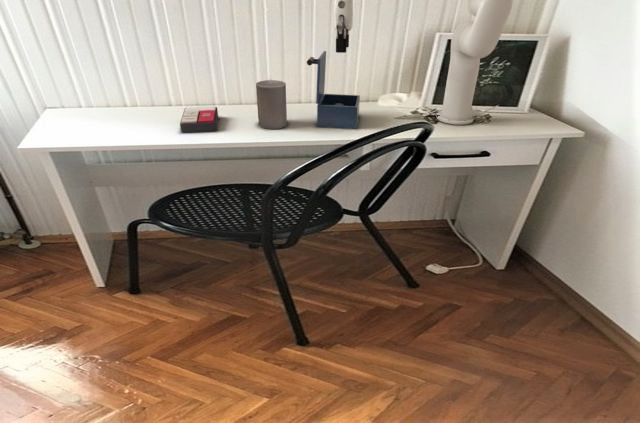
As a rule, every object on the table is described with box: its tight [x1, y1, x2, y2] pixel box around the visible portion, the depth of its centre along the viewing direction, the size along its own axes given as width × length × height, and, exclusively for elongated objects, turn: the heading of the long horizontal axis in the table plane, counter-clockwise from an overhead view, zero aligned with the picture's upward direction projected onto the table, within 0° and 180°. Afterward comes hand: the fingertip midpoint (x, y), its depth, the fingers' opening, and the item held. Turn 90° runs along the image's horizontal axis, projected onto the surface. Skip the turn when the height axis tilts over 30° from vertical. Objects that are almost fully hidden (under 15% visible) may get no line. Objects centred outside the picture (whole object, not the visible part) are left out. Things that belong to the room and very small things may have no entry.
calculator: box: [179, 105, 219, 134], centre depth 136 cm, size 11×4×15 cm
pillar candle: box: [255, 78, 288, 130], centre depth 134 cm, size 10×10×15 cm
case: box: [316, 93, 361, 130], centre depth 140 cm, size 13×15×7 cm
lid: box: [306, 50, 327, 105], centre depth 135 cm, size 14×15×5 cm
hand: (342, 49), depth 130 cm, fingers open, 9 cm apart
